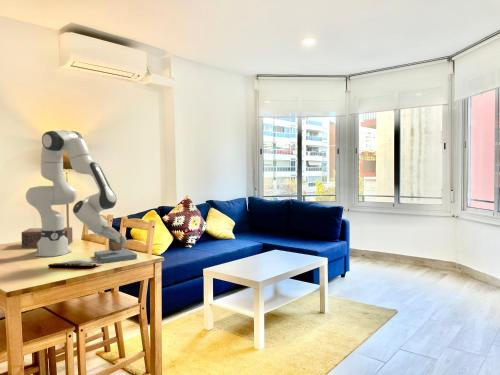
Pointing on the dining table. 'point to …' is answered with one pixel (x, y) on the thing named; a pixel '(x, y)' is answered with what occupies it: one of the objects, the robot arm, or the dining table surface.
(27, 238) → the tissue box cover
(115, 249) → the walnut block
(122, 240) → the donut
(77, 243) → the dining table surface
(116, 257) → the base board
